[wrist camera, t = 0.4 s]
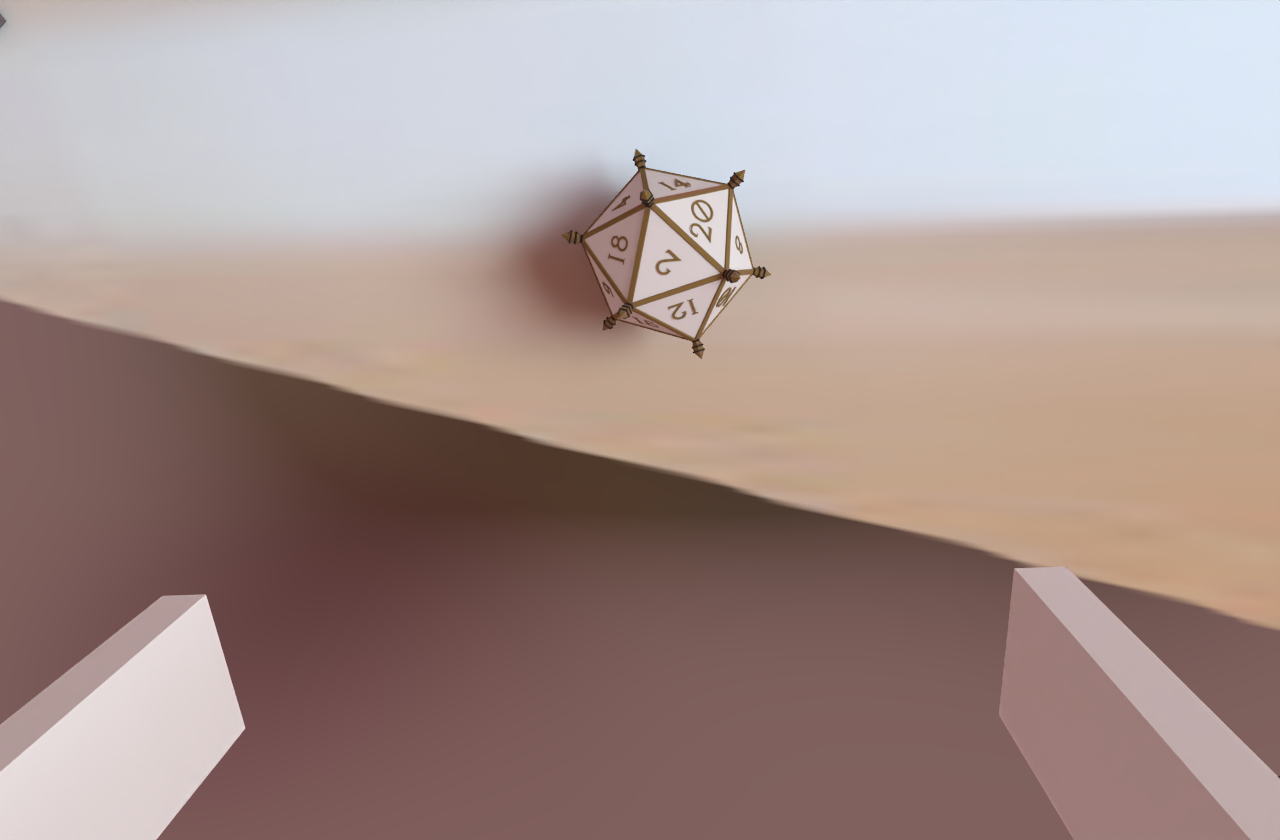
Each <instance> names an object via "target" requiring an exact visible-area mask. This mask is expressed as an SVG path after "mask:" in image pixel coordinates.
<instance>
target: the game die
mask: <svg viewBox="0 0 1280 840" xmlns="http://www.w3.org/2000/svg"><path fill="white" fill-rule="evenodd" d="M644 157H645V155H642V154H641V153H640V152H639V151H638V150H637V149H636V151H635V156H634V158H633V161H635V166H637V167H638V172H637V173H636V174H635V175H634V176H633V177H632V179H631V180H630V181H629V182H628V183H627V184H626V185H625V187H624V188H623V189H622V190H621V191H620V192H619V194H618V195H617V196H616V197H615V198H614V199H613V200H612V202H611V203H610V204H609V205H608V206H607V207H606V209H605V210H604V211H603V212H602V213H601V214H600V216H599V217H598V218H597V219H596V220H595V221H594V222H593V224H592V225H591V226H590V227H589V228H588V229H587V231H586V232H585V233H584V234H583V235H580V234H578V233H577V232H576V233H575V232H572V230H571V231H570V232H568V233H565V234H563V235H562V236H563V237H564V238H565V239H566V240H567V241H568V242H569V243H570V242H572V243H574V244H575V243H579V242H580V243H582V245H583V248H584V250H585V253H586V255H587V257H588V260H589V262H590V265H591V267H592V270H593V272H594V274H595V277H596V279H597V282H598V284H599V286H600V289H601V291H602V294H603V296H604V298H605V301H606V303H607V306H608V308H609V310H610V313H611V316H610V317H607V319H606V320H604V326H603V330H606V329H612V328H613V325H615V322H616V320H619V321H622V322H626V323H629V324H633V325H636V326H640V327H643V328H647V329H651V330H654V331H658V332H661V333H665V334H668V335H672V336H675V337H679V338H682V339H686V340H689V341H692V342H693V347H692V348H693V350H694V352H693V353H695V354H696V355H697V356H699V357H700V358H701V359H702V356H703V352H704V350H705V349H704V348H703V346H702V345H703V344H702V343H701V342H700V340H699V338H700V337H701V336H702V335H703V334H704V332H705V331H706V330H707V329H708V328H709V326H710V325H711V324H712V323H713V322H714V320H715V319H716V318H717V317H718V316H719V314H720V313H721V312H722V311H723V310H724V308H725V307H726V306H727V305H728V303H729V302H730V301H731V300H732V299H733V297H734V296H735V295H736V294H737V293H738V291H739V290H740V289H741V288H742V287H743V285H744V284H745V283H746V282H747V281H748V279H749V278H750V277H751V276H752V275H754V276H756V278H758V277H760V279H763V278H764V277H766V276H769V275H771V274H770V273H769V272H768V271H767V270H766V269H765V267H763V268H760V266H759V267H757V268H754V267H753V264H752V260H751V256H750V252H749V249H748V245H747V241H746V237H745V233H744V229H743V225H742V222H741V218H740V214H739V210H738V206H737V202H736V198H735V195H734V191H733V189H734V188H735V187H737V186H740V185H739V184H740V183H741V182H744V181H743V178H744V173H745V170H743V171H740V172H737V173H735V172H734V175H733V176H732V177H730V181H729V183H728V184H725V183H720V182H715V181H710V180H705V179H700V178H695V177H690V176H685V175H680V174H675V173H670V172H665V171H660V170H655V169H650V168H646V167H645V162H646V160H645V159H644Z"/></svg>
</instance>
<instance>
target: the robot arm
mask: <svg viewBox="0 0 1280 840" xmlns="http://www.w3.org/2000/svg"><path fill="white" fill-rule="evenodd" d="M999 716H1000V717H1001V719H1002V721H1003V722H1004V724H1005V726H1006V727H1007V729H1008V731H1009V732H1010V734H1011V736H1012V737H1013V739H1014V741H1015V742H1016V744H1017V746H1018V747H1019V749H1020V751H1021V752H1022V754H1023V756H1024V757H1025V759H1026V761H1027V762H1028V764H1029V766H1030V767H1031V769H1032V770H1033V772H1034V774H1035V776H1036V777H1037V779H1038V781H1039V782H1040V784H1041V786H1042V787H1043V789H1044V791H1045V792H1046V794H1047V795H1048V797H1049V799H1050V801H1051V802H1052V804H1053V806H1054V807H1055V809H1056V811H1057V812H1058V814H1059V816H1060V817H1061V819H1062V821H1063V822H1064V824H1065V826H1066V827H1067V829H1068V831H1069V832H1070V834H1071V836H1072V837H1073V839H1074V840H1280V776H1277V775H1276V774H1275V773H1274V772H1273V771H1272V770H1271V769H1270V768H1269V767H1268V766H1267V765H1265V764H1264V762H1263V761H1262V760H1261V759H1260V758H1258V757H1257V755H1255V754H1254V753H1253V752H1252V751H1251V750H1250V749H1249V748H1248V747H1247V746H1246V745H1245V744H1244V743H1243V742H1242V741H1241V740H1240V739H1239V738H1238V737H1237V736H1236V735H1235V734H1234V733H1233V732H1232V731H1231V730H1230V729H1229V728H1228V727H1227V726H1226V725H1225V724H1224V723H1223V722H1222V721H1221V720H1220V719H1219V718H1218V717H1217V716H1216V715H1215V714H1214V713H1213V712H1212V711H1211V710H1210V709H1209V708H1208V707H1207V706H1206V705H1205V704H1204V703H1203V702H1202V701H1201V700H1200V699H1199V698H1198V697H1197V696H1196V695H1195V694H1194V693H1193V692H1192V691H1191V690H1190V689H1189V688H1188V687H1187V686H1186V685H1185V684H1184V683H1183V682H1182V681H1181V680H1180V679H1179V678H1178V677H1177V676H1176V675H1175V674H1174V673H1173V672H1172V671H1171V670H1170V669H1169V668H1168V667H1167V666H1166V665H1164V663H1163V662H1161V660H1160V659H1159V658H1158V657H1157V656H1156V655H1155V654H1154V653H1153V652H1151V651H1150V650H1149V648H1148V647H1146V646H1145V645H1144V644H1143V643H1142V642H1141V641H1140V640H1139V639H1138V638H1137V637H1136V636H1135V635H1134V634H1133V633H1132V632H1131V631H1130V630H1129V629H1128V628H1127V627H1126V626H1125V625H1124V624H1123V623H1122V622H1121V621H1120V620H1119V619H1118V618H1117V617H1116V616H1115V615H1114V614H1113V613H1112V612H1111V611H1110V610H1109V609H1108V608H1107V607H1106V606H1105V605H1104V604H1103V603H1102V602H1101V601H1100V600H1099V599H1098V598H1097V597H1096V596H1095V595H1094V594H1093V593H1092V592H1091V591H1090V590H1089V589H1088V588H1087V587H1086V586H1085V585H1084V584H1083V583H1082V582H1081V581H1080V580H1079V579H1078V578H1077V577H1076V576H1075V575H1074V574H1073V573H1072V572H1071V571H1070V570H1069V569H1068V568H1067V567H1043V568H1015V569H1014V578H1013V587H1012V596H1011V606H1010V616H1009V625H1008V634H1007V644H1006V654H1005V663H1004V672H1003V681H1002V691H1001V700H1000V710H999ZM244 729H245V726H244V722H243V719H242V716H241V712H240V709H239V705H238V702H237V699H236V695H235V692H234V688H233V685H232V682H231V678H230V675H229V671H228V668H227V665H226V662H225V658H224V655H223V651H222V648H221V645H220V641H219V638H218V634H217V631H216V627H215V624H214V621H213V617H212V614H211V611H210V607H209V604H208V600H207V597H206V595H177V596H162V597H161V598H159V599H158V600H157V601H156V602H154V603H153V604H152V605H151V606H149V607H148V608H147V609H146V610H144V611H143V612H142V613H140V614H139V615H138V616H137V617H135V618H134V619H133V620H132V621H130V622H129V623H128V624H127V625H125V626H124V627H123V628H122V629H120V630H119V631H118V632H117V633H115V634H114V635H113V636H111V637H110V638H109V639H108V640H106V641H105V642H104V643H103V644H102V645H100V646H99V647H98V648H97V649H95V650H94V651H93V652H91V653H90V654H89V655H88V656H86V657H85V658H84V659H82V660H81V661H80V662H79V663H77V664H76V665H75V666H74V667H72V668H71V669H70V670H69V671H67V672H66V673H65V674H64V675H62V676H61V677H60V678H59V679H57V680H56V681H55V682H54V683H52V684H51V685H50V686H49V687H47V688H46V689H45V690H44V691H42V692H41V693H40V694H38V695H37V696H36V697H35V698H33V699H32V700H31V701H30V702H28V703H27V704H26V705H24V706H23V707H22V708H21V709H20V710H18V711H17V712H16V713H14V714H13V715H12V716H11V717H9V718H8V719H7V720H6V721H4V722H3V723H2V724H1V725H0V840H156V839H157V838H158V837H159V835H160V834H161V833H162V832H163V830H164V829H165V828H166V827H167V825H168V824H169V823H170V822H171V820H172V819H173V818H174V816H175V815H176V814H177V813H178V812H179V810H180V809H181V808H182V807H183V805H184V804H185V803H186V802H187V800H188V799H189V798H190V797H191V795H192V794H193V793H194V792H195V790H196V789H197V788H198V787H199V785H200V784H201V783H202V782H203V780H204V779H205V778H206V777H207V775H208V774H209V773H210V772H211V770H212V769H213V768H214V767H215V765H216V764H217V763H218V762H219V760H220V759H221V758H222V757H223V755H224V754H225V753H226V752H227V750H228V749H229V748H230V747H231V745H232V744H233V743H234V742H235V740H236V739H237V738H238V737H239V735H240V734H241V733H242V732H243V731H244Z"/></svg>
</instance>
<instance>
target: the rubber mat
mask: <svg viewBox="0 0 1280 840" xmlns="http://www.w3.org/2000/svg"><path fill="white" fill-rule="evenodd" d="M5 22H6V20H5V19H4V18H3V17H2V16H1V14H0V27H1V26H2V25H3V24H4V23H5Z"/></svg>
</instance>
